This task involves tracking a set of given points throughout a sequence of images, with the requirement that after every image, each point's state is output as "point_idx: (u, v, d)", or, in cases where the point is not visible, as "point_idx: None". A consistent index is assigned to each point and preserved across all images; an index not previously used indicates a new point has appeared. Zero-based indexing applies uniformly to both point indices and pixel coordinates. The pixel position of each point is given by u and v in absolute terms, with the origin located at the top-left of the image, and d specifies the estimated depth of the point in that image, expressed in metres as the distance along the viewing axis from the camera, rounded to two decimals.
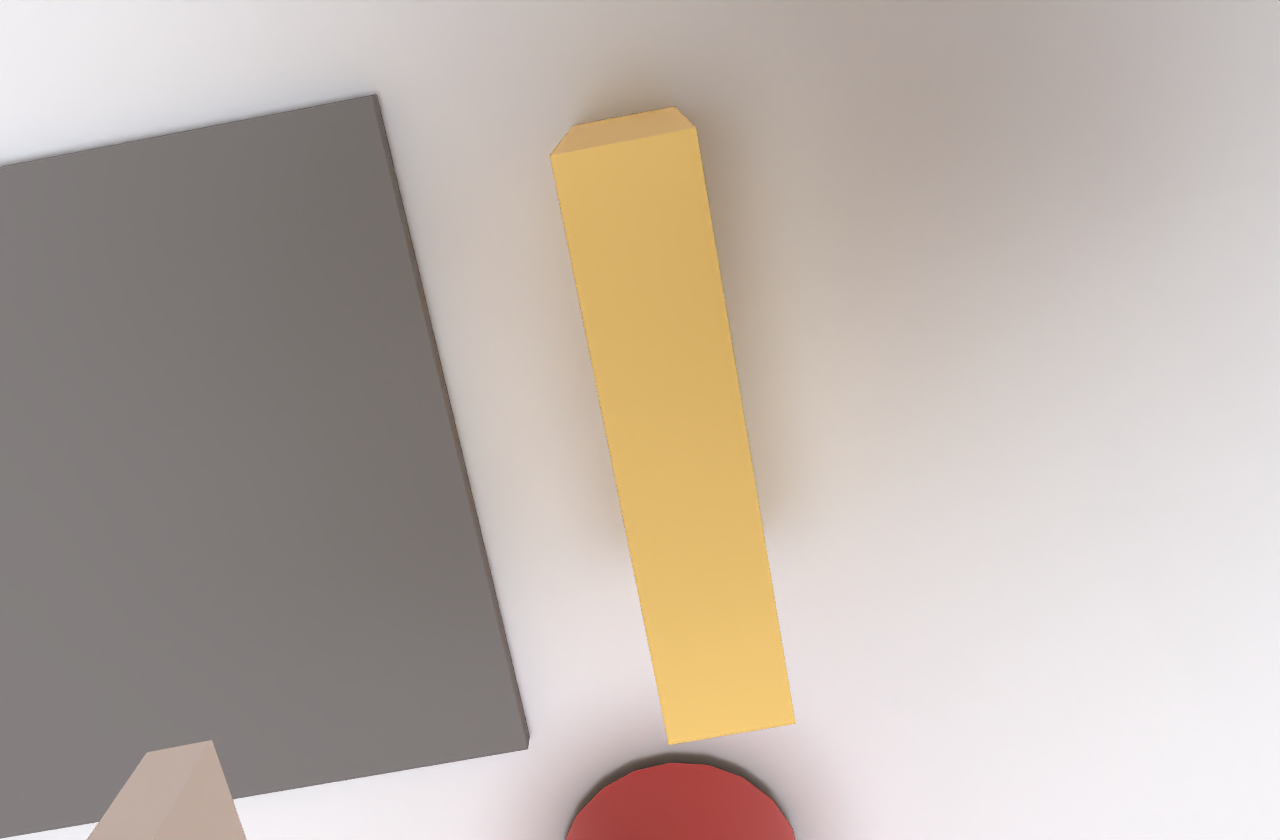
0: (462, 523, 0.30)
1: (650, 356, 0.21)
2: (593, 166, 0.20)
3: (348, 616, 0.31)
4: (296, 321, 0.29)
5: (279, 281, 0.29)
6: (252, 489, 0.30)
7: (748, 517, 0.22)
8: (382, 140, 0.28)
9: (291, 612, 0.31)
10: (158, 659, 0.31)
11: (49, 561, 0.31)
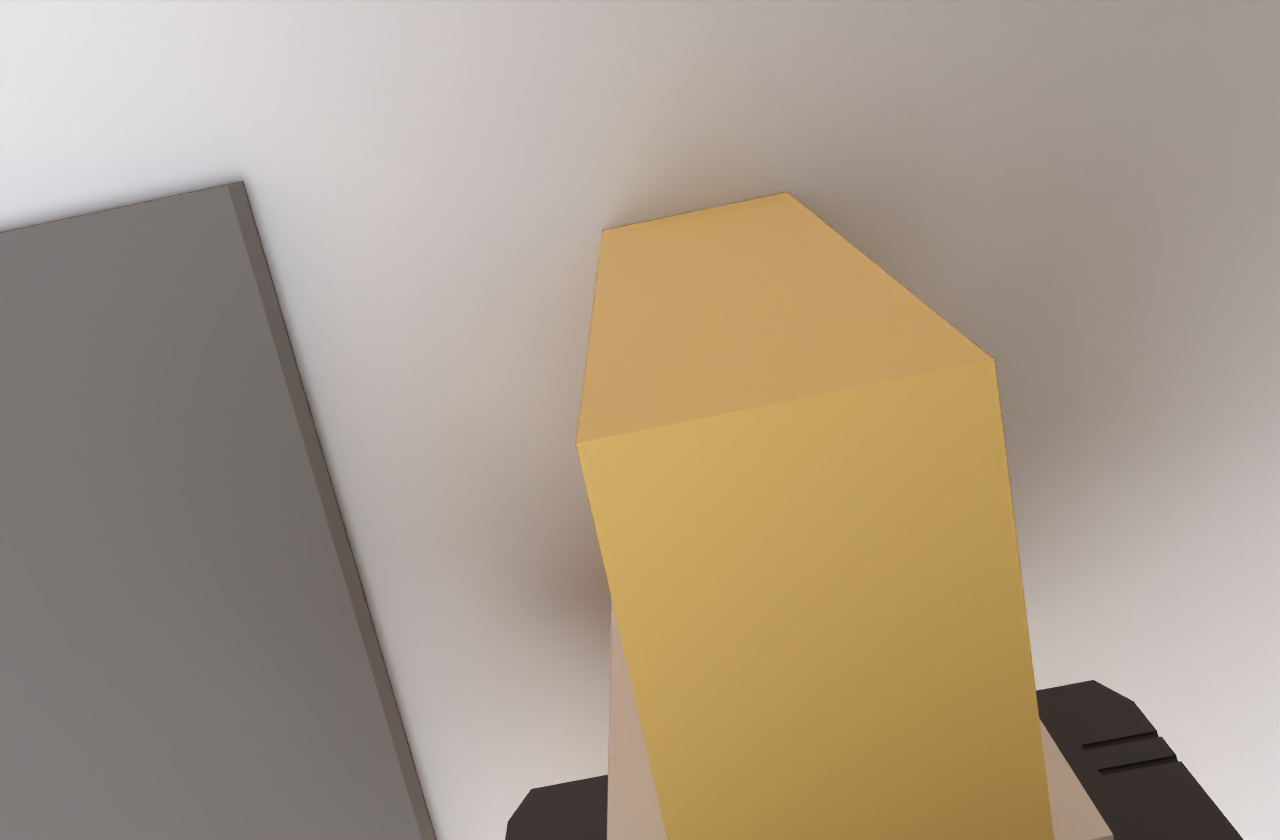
0: None
1: None
2: (698, 469, 0.07)
3: None
4: (114, 584, 0.16)
5: (79, 517, 0.16)
6: None
7: None
8: (253, 266, 0.15)
9: None
10: None
11: None
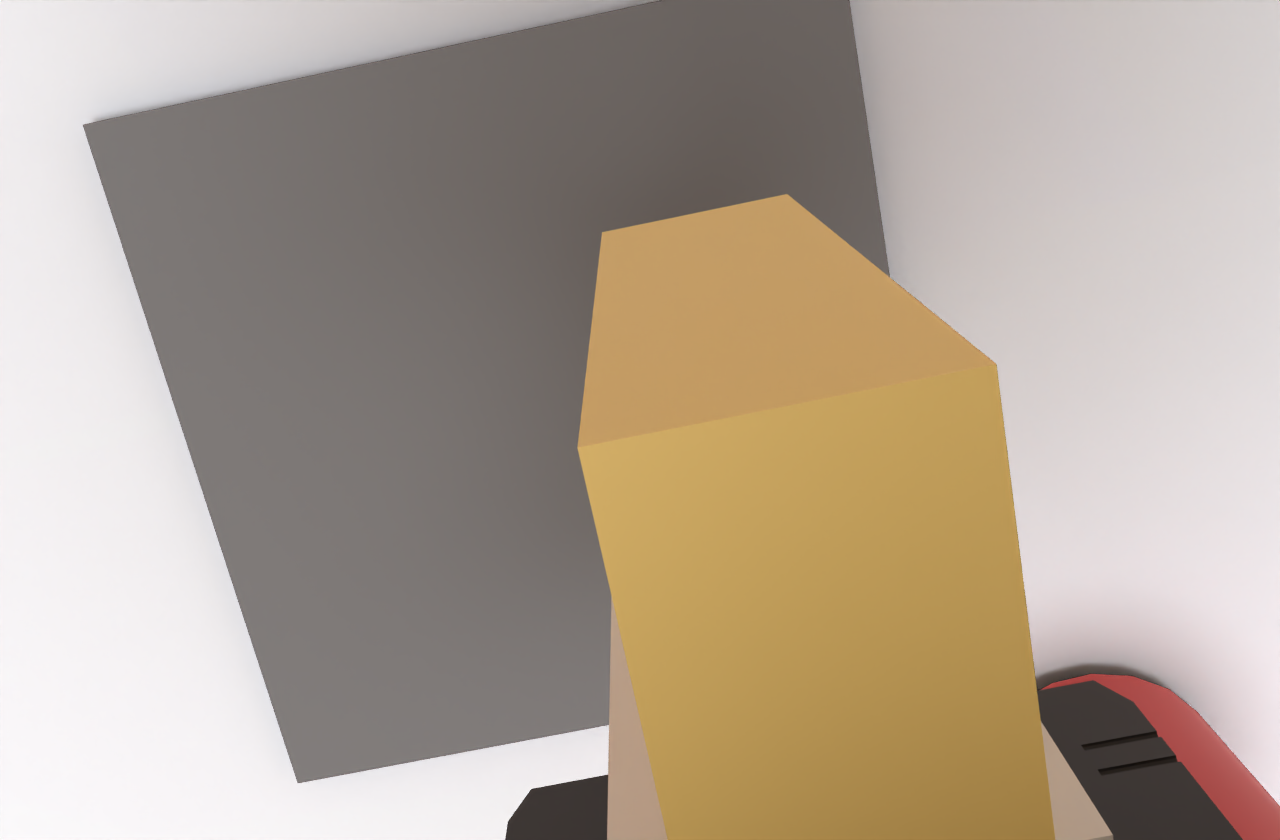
0: None
1: None
2: (701, 473, 0.07)
3: None
4: None
5: (730, 163, 0.27)
6: None
7: None
8: (849, 10, 0.26)
9: None
10: (570, 571, 0.30)
11: (466, 468, 0.29)
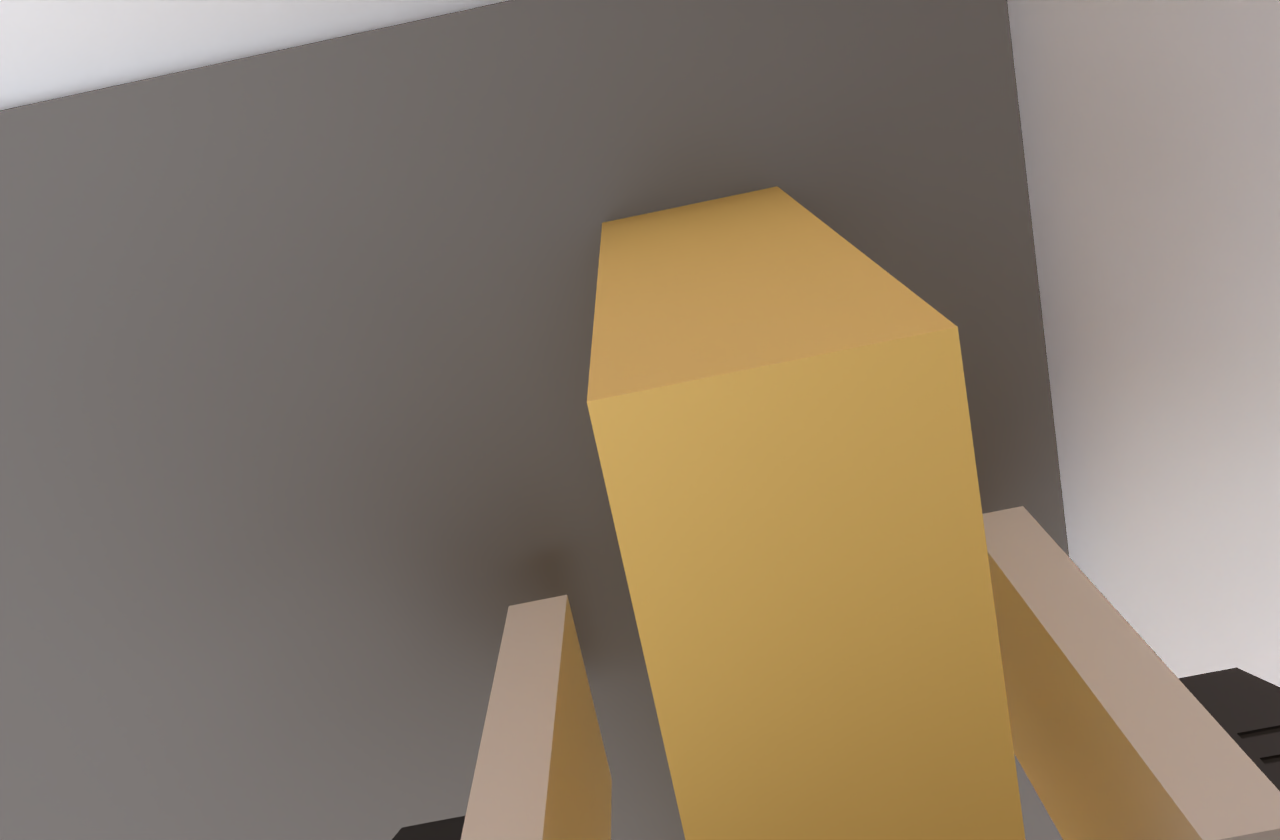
0: None
1: None
2: (696, 425, 0.08)
3: None
4: None
5: None
6: None
7: None
8: None
9: None
10: None
11: (372, 710, 0.18)
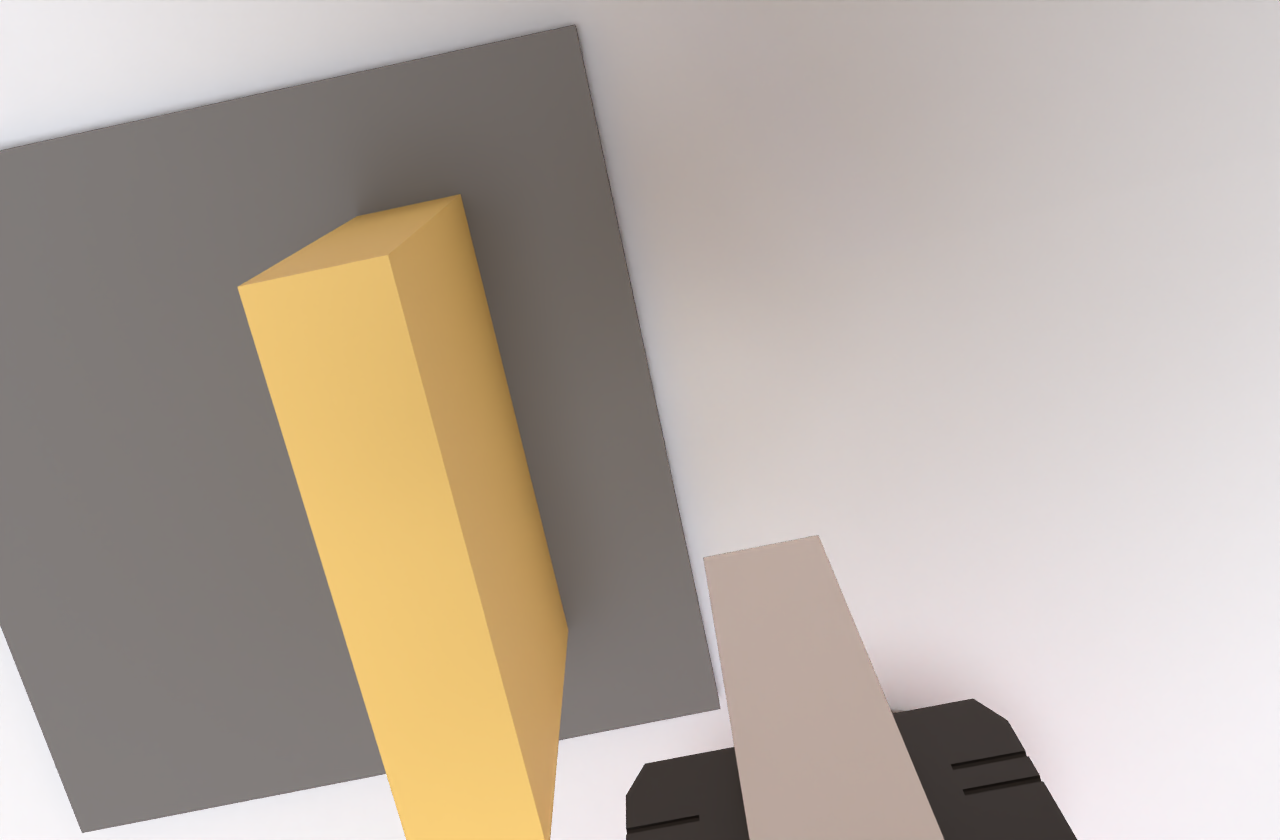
0: (658, 473, 0.29)
1: (361, 488, 0.20)
2: (283, 296, 0.19)
3: None
4: (492, 265, 0.28)
5: (475, 223, 0.28)
6: None
7: (480, 647, 0.21)
8: (584, 72, 0.27)
9: None
10: None
11: (231, 522, 0.29)
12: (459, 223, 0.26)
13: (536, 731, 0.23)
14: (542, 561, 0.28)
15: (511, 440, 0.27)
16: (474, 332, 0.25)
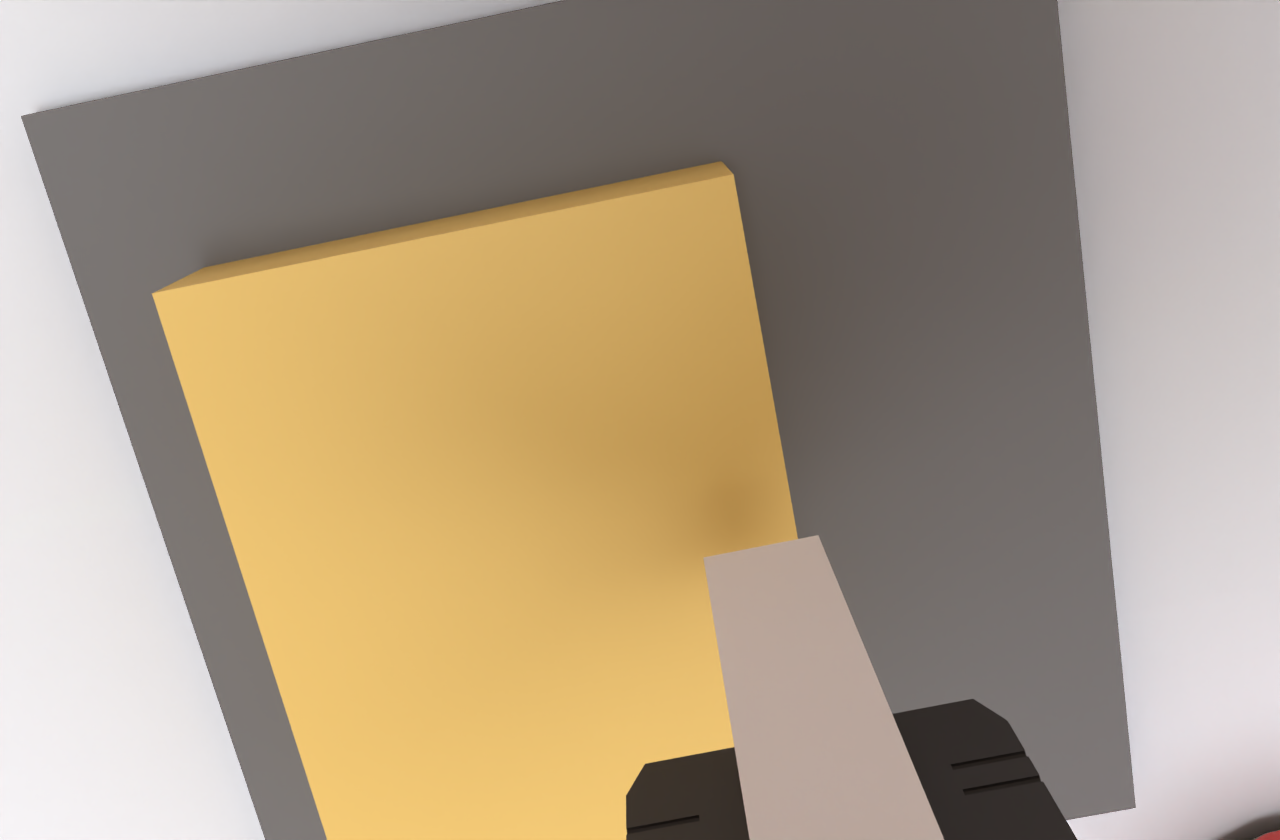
0: (1091, 505, 0.22)
1: None
2: None
3: (920, 633, 0.23)
4: (900, 227, 0.21)
5: (884, 170, 0.20)
6: (811, 463, 0.22)
7: (281, 677, 0.21)
8: None
9: None
10: None
11: None
12: (664, 224, 0.18)
13: (421, 805, 0.21)
14: None
15: (699, 528, 0.20)
16: (586, 377, 0.19)
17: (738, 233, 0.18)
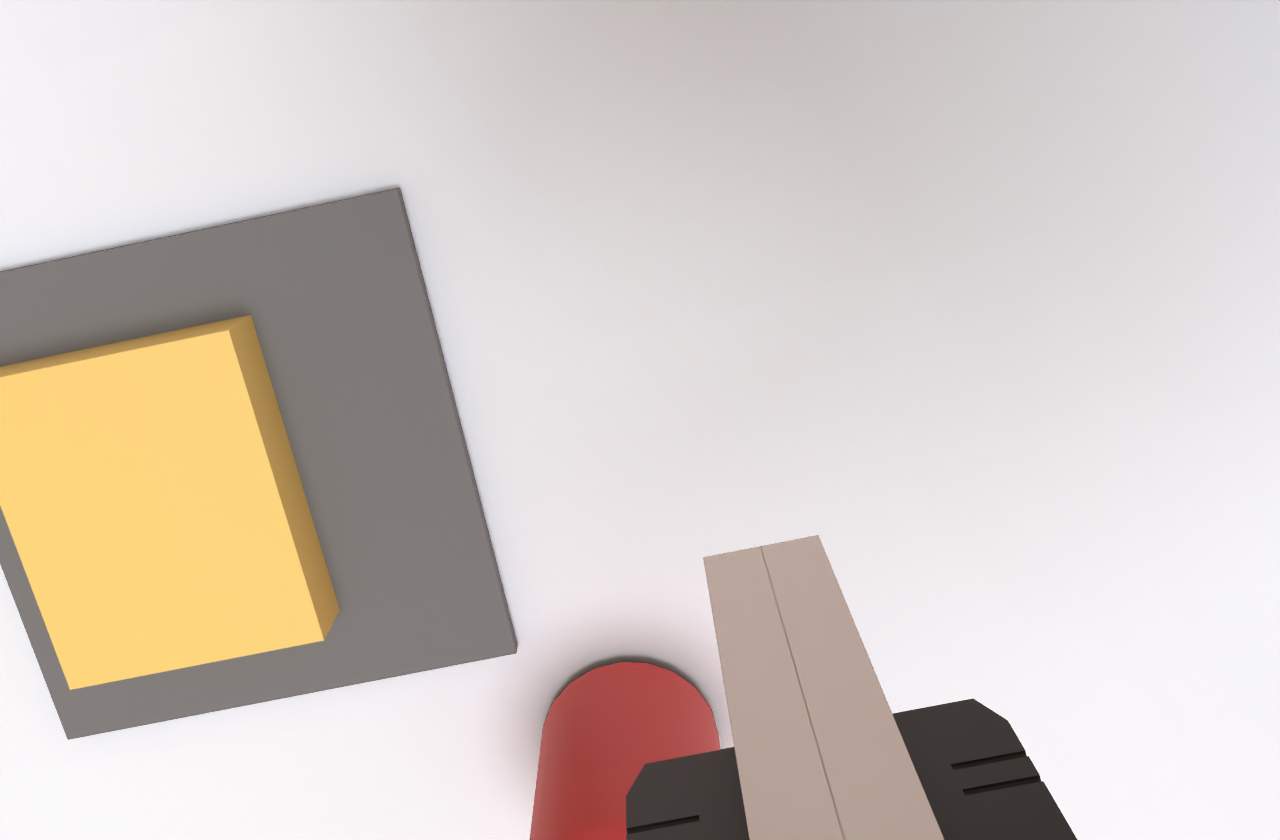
0: (465, 488, 0.42)
1: None
2: None
3: (384, 557, 0.43)
4: (346, 347, 0.41)
5: (333, 319, 0.41)
6: (315, 466, 0.42)
7: (31, 576, 0.41)
8: (404, 220, 0.40)
9: (343, 555, 0.43)
10: None
11: None
12: (198, 353, 0.39)
13: (106, 642, 0.41)
14: (263, 582, 0.41)
15: (232, 498, 0.40)
16: (168, 425, 0.39)
17: (234, 357, 0.39)
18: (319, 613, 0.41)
